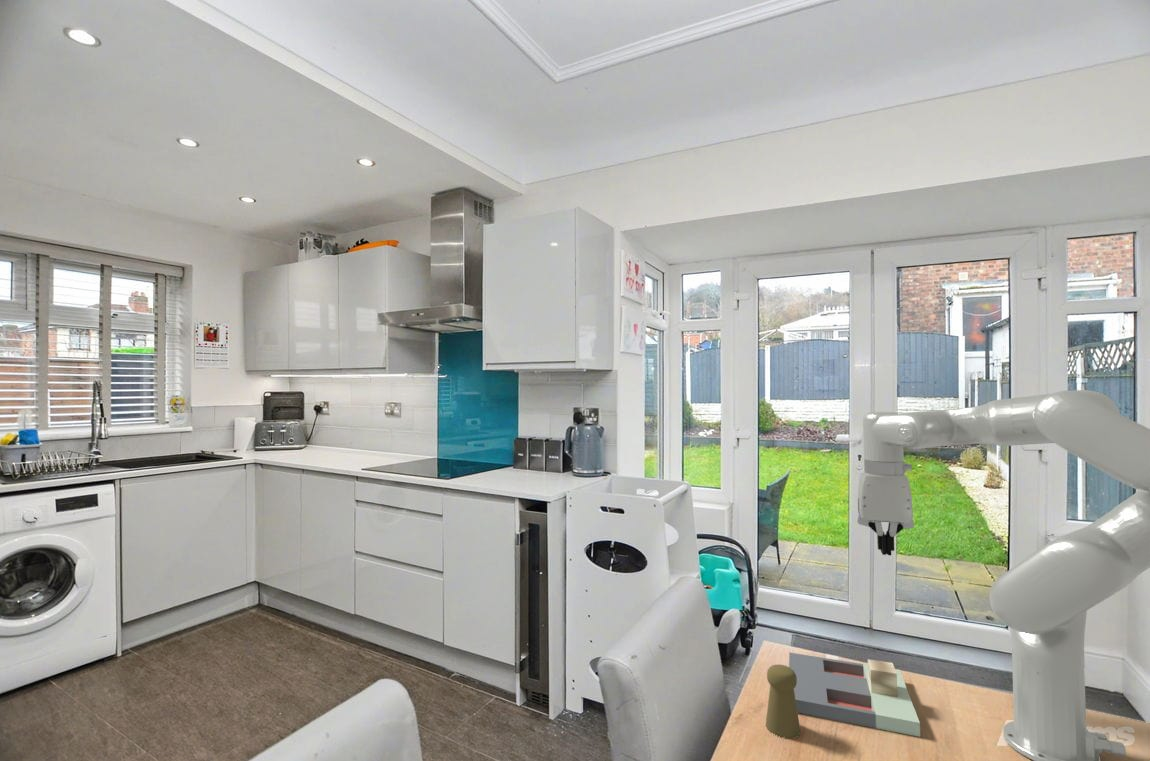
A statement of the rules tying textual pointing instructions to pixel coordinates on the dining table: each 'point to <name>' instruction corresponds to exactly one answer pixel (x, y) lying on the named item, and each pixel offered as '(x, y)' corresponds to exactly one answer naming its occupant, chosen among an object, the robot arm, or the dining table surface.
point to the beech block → (882, 678)
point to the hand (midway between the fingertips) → (885, 553)
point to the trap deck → (850, 695)
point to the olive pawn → (782, 702)
